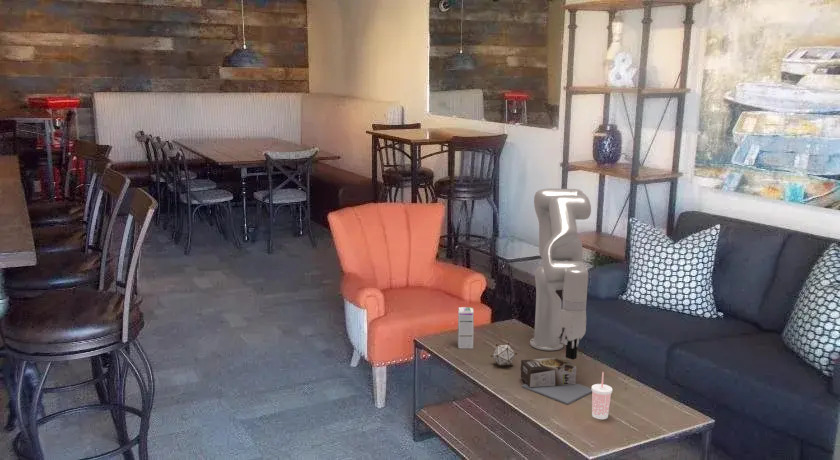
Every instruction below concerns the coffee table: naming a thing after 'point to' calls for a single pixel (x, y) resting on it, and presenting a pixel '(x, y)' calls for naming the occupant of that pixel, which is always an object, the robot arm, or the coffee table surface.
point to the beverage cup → (601, 400)
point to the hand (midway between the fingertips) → (571, 357)
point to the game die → (503, 355)
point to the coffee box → (548, 372)
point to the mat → (562, 392)
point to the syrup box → (465, 327)
